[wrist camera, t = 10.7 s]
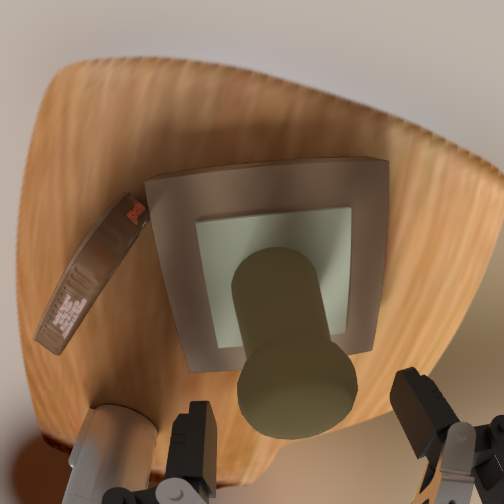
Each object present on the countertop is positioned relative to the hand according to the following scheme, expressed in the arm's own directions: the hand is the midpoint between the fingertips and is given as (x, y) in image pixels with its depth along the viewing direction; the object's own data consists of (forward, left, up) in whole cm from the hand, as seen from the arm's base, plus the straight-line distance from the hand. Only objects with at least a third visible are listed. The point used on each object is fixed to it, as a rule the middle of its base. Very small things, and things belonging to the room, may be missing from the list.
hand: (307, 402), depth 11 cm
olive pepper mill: (0, 0, -10) cm, 10 cm away
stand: (0, 0, -14) cm, 14 cm away
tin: (-14, +2, -14) cm, 20 cm away
